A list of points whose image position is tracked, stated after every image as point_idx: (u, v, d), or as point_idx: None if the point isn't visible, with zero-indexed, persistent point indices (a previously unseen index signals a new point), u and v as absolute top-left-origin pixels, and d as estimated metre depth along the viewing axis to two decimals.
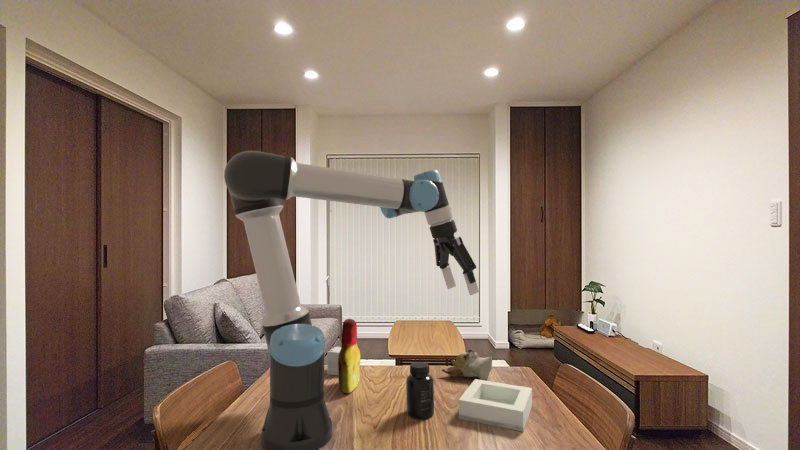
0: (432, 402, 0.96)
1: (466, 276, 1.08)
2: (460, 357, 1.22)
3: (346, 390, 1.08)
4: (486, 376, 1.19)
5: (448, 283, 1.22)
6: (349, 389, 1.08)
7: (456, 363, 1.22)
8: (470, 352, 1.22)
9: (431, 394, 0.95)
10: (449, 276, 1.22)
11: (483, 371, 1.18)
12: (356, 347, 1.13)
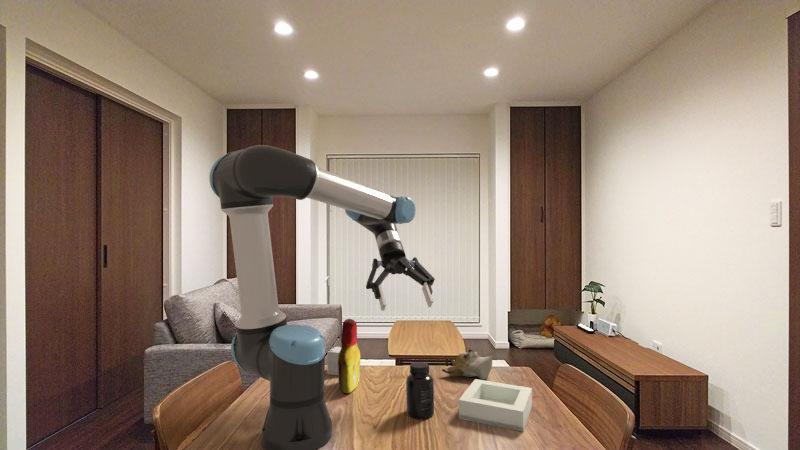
0: (432, 402, 0.96)
1: None
2: (460, 357, 1.22)
3: (346, 390, 1.08)
4: (487, 375, 1.19)
5: None
6: (349, 389, 1.08)
7: (456, 363, 1.22)
8: (470, 352, 1.22)
9: (431, 394, 0.95)
10: None
11: (483, 370, 1.18)
12: (356, 347, 1.13)
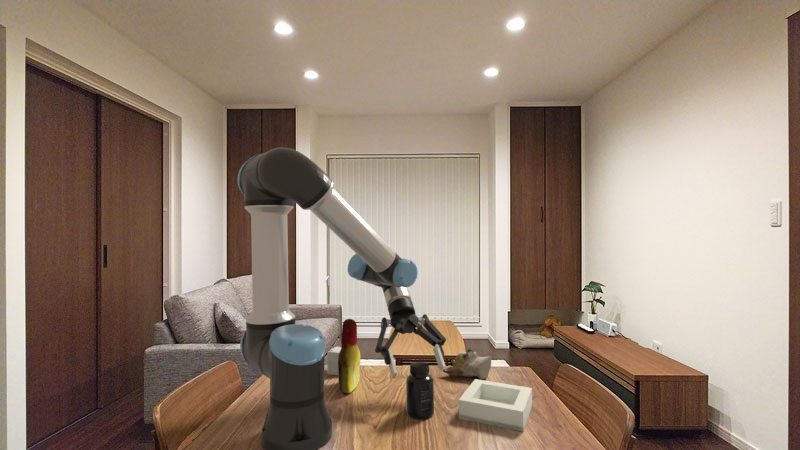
0: (432, 402, 0.96)
1: None
2: (459, 357, 1.22)
3: (346, 390, 1.08)
4: (486, 375, 1.19)
5: None
6: (349, 389, 1.08)
7: (455, 363, 1.23)
8: (469, 351, 1.22)
9: (431, 394, 0.95)
10: None
11: (482, 370, 1.18)
12: (356, 347, 1.13)
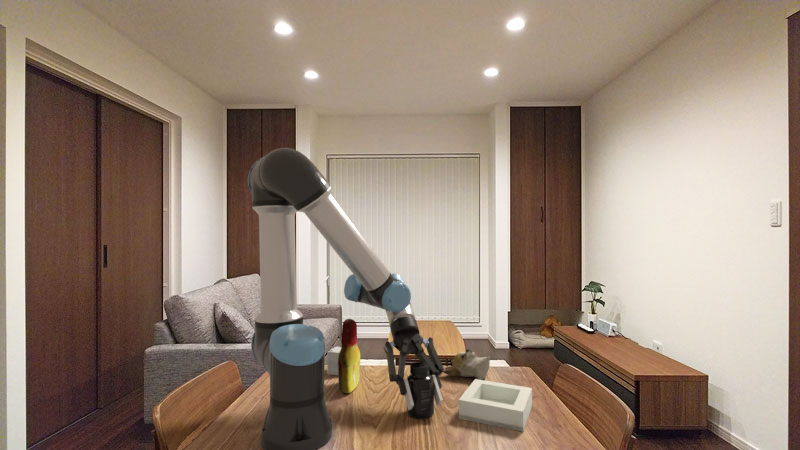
0: (432, 402, 0.96)
1: None
2: (458, 357, 1.22)
3: (346, 390, 1.08)
4: (484, 376, 1.19)
5: None
6: (349, 389, 1.08)
7: (454, 363, 1.23)
8: (468, 352, 1.22)
9: (431, 394, 0.95)
10: None
11: (480, 371, 1.18)
12: (356, 347, 1.13)
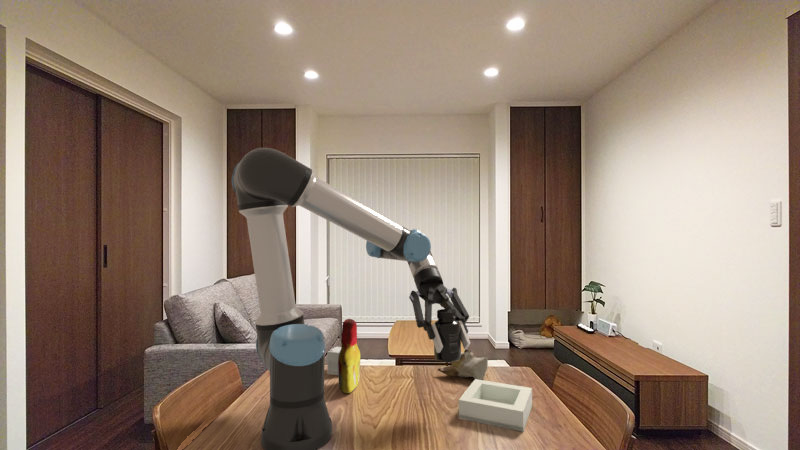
0: (460, 346, 0.98)
1: None
2: None
3: (346, 390, 1.08)
4: (481, 376, 1.18)
5: None
6: (349, 389, 1.08)
7: (452, 363, 1.23)
8: (466, 352, 1.22)
9: (459, 338, 0.97)
10: None
11: (478, 371, 1.17)
12: (356, 347, 1.13)
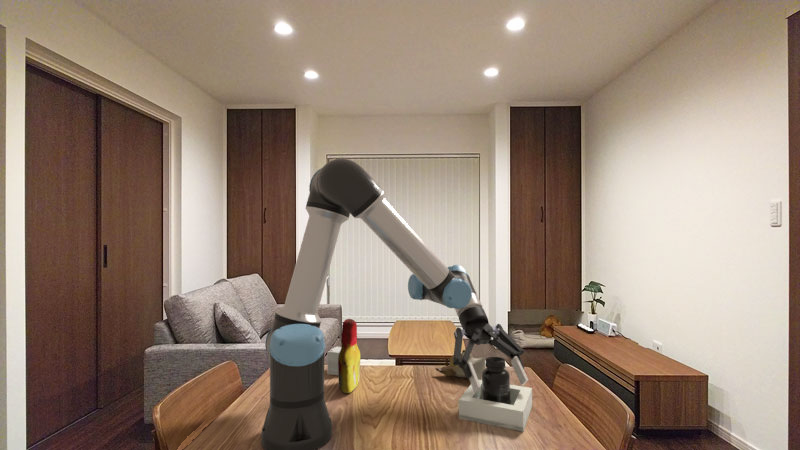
0: None
1: None
2: None
3: (346, 390, 1.08)
4: (479, 377, 1.18)
5: None
6: (349, 389, 1.08)
7: (450, 363, 1.23)
8: (464, 352, 1.21)
9: (508, 388, 0.96)
10: None
11: (475, 372, 1.17)
12: (356, 347, 1.13)
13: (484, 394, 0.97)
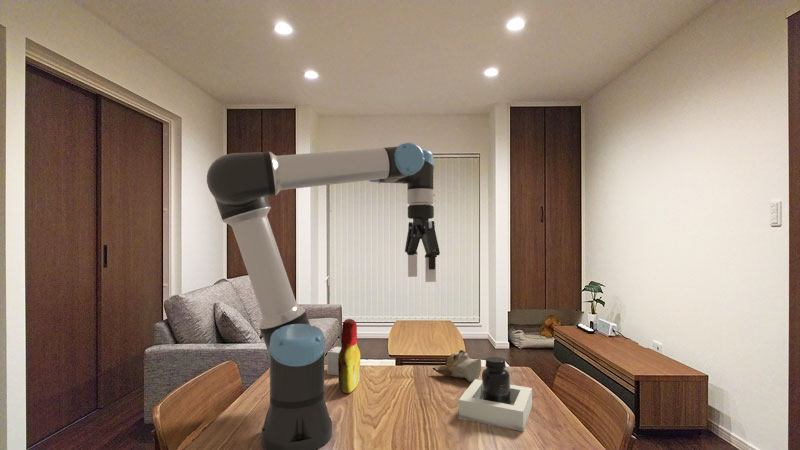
0: None
1: (427, 261, 1.05)
2: (450, 357, 1.22)
3: (346, 390, 1.08)
4: (474, 378, 1.17)
5: (410, 271, 1.18)
6: (349, 389, 1.08)
7: (447, 362, 1.23)
8: (460, 352, 1.21)
9: (509, 388, 0.96)
10: (413, 264, 1.18)
11: (470, 372, 1.17)
12: (356, 347, 1.13)
13: (484, 394, 0.97)
